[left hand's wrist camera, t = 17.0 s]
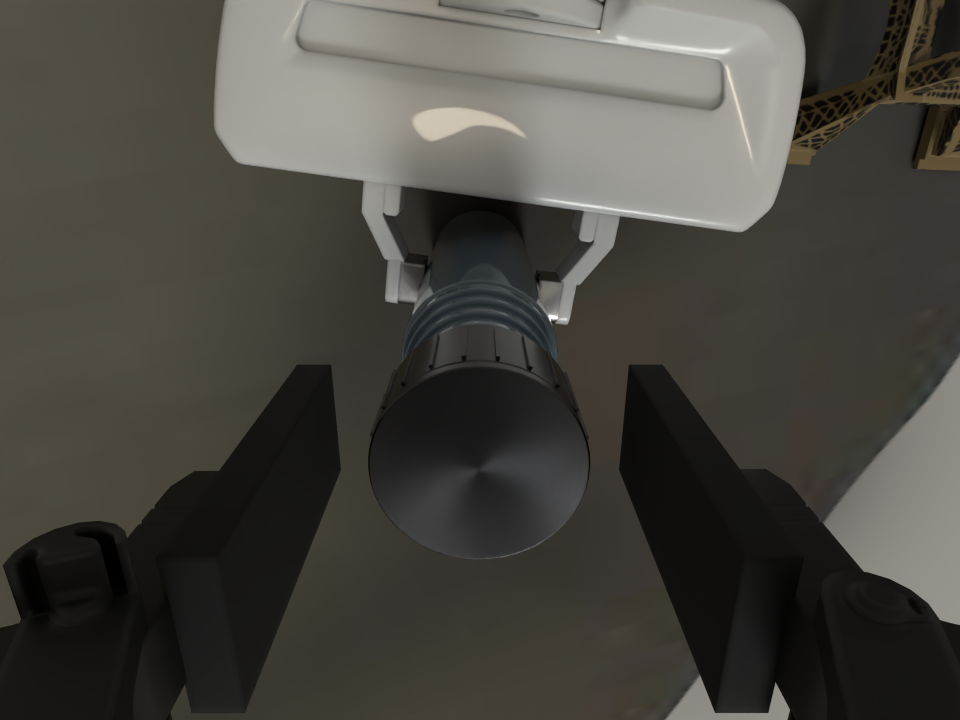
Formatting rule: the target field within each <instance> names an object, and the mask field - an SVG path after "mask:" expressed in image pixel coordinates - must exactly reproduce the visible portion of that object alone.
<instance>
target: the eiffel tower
mask: <svg viewBox="0 0 960 720" xmlns="http://www.w3.org/2000/svg"><path fill="white" fill-rule="evenodd" d="M944 3H945V0H890V12H889V18H888V24H887V28H886V32H885V35H884V38H883V41H882V43H881V46H880V48H879V50H878V53H877V55H876V57H875V59H874V61H873V64H872V66H871V68H870V69H869V71H868V73H867V74H866V76H865V78H864V79H863V80H860V81H857V82H854V83H851V84H848V85H844V86H841V87H838V88H835V89H832V90H829V91H826V92H823V93H819V94H816V95H813V96H810V97H807V98H804V99H801V100H800V104H799V110H798V115H797V120H796V125H795V130H794V134H793V139H792V143H791V147H790V152H789V155H788V159H787V163H786V164H801V165H810V161H811V156H812V155H816V152H817V151H818V150H819V149H821V148H822V147H823V146H825V145H826V144H827V143H829V142H830V141H831V140H832V139H834V138H835V137H836V136H838V135H839V134H840V133H842V132H843V131H844V130H846V129H847V128H848V127H849V126H851V125H852V124H853V123H855V122H856V121H857V120H859V119H860V118H861V117H863V116H864V115H865V114H866V113H868V112H869V111H870V110H872V109H873V108H874V107H876V106H877V105H878V104H911V105H941V106H930V108H929V111H928V115H927V119H926V122H925V126H924V129H923V133H922V137H921V140H920V144H919V147H918V151H917V155H916V158H915V162H914V165H913V169H930V170H956V171H960V50H957V51H953V52H949V53H946V54H943V55H940V56H937V57H934V58H932V59H929V58H930V54H931V51H932V47H933V43H934V39H935V36H936V31H937V27H938V22H939V19H940V16H941V13H942V10H943V6H944Z"/></svg>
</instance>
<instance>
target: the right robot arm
mask: <svg viewBox="0 0 960 720" xmlns="http://www.w3.org/2000/svg"><path fill="white" fill-rule="evenodd" d="M804 73H805V42H804V36H803V32H802V29H801V26H800V24H799V22H798V20H797V18H796V17H795V15H794V14H793V13H792V12H791V10H790V9H789V8H788V7H786V6H785V5H784V4H783V3H781V2H779V0H224V7H223V13H222V20H221V27H220V34H219V43H218V52H217V62H216V76H215V93H214V128H215V131H216V134H217V136H218V137H219V139H220V140H221V142H222V143H223V145H224V146H225V148H226V149H227V150H228V152H229V153H230V155H231V156H232V157H233V158H234V160H235V161H237V162H238V163H241V164H245V165H252V166H259V167H266V168H274V169H281V170H288V171H296V172H303V173H310V174H317V175H325V176H332V177H339V178H347V179H354V180H361V181H364V184H363V200H362V214H363V216H364V218H365V220H366V222H367V224H368V226H369V228H370V230H371V232H372V234H373V236H374V238H375V240H376V242H377V244H378V247H379V249H380V251H381V253H382V255H383V257H384V259H386V260H388V265H387V277H386V290H385V301H387V302H392V303H402V304H411V305H414V304H415V301H416V298H417V296H418V293H419V290H420V287H421V284H422V281H423V279H424V276H425V273H426V270H427V267H428V257H429V256H426V255H419V254H413V253H409V250H408V248H407V245H406V243H405V241H404V238H403V236H402V234H401V232H400V229H399V227H398V225H397V222H396V220H395V218H394V216H396V215H397V214H399V212H400V211H401V210H402V209H403V208H404V207H405V202H406V192H407V187H412V188H419V189H427V190H434V191H441V192H449V193H456V194H463V195H470V196H478V197H485V198H492V199H500V200H507V201H514V202H521V203H529V204H536V205H543V206H551V207H558V208H565V209H572V210H574V216H573V222H572V228H571V229H572V230H573V232H574V233H575V234H576V235H577V237H578V238H579V239H580V241H579V242H578V243H577V245H576V246H575V247H574V248H573V250H572V251H571V252H570V253H569V255H568V256H567V257H566V258H565V260H564V261H563V262H562V263H561V265H560V266H559V267H558V268H557V270H556V271H555V272H548V271H539V270H536V274H535V277H536V280H537V283H538V286H539V288H540V291H541V294H542V297H543V300H544V303H545V306H546V309H547V312H548V315H549V317H550V320H551V323H556V324H564V325H567V324H568V322H569V319H570V315H571V310H572V305H573V300H574V295H575V289H576V285H580V284H581V283H582V282H583V280H584V279H585V278H586V277H587V276H588V275H589V274H590V273H591V271H592V270H593V269H594V268H595V267H596V266H597V265H598V263H599V262H600V261H601V260H602V259H603V258H604V257H605V255H606V254H607V253H608V252H609V251H610V250H611V249H612V248H613V246H614V242H615V237H616V233H617V228H618V224H619V219H620V216H623V217H631V218H638V219H645V220H653V221H660V222H667V223H674V224H682V225H689V226H696V227H704V228H711V229H718V230H726V231H733V232H743V231H745V230H747V229H748V228H749V227H751V226H752V225H753V224H754V223H755V222H757V221H758V220H759V219H760V218H761V217H762V216H763V215H764V214H765V213H767V212H768V211H769V210H770V208H771V207H772V205H773V203H774V201H775V199H776V196H777V194H778V191H779V188H780V185H781V181H782V178H783V174H784V171H785V167H786V163H787V159H788V155H789V152H790V147H791V143H792V139H793V134H794V130H795V125H796V120H797V115H798V110H799V104H800V98H801V93H802V87H803V80H804Z"/></svg>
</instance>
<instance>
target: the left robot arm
mask: <svg viewBox="0 0 960 720" xmlns="http://www.w3.org/2000/svg"><path fill="white" fill-rule="evenodd" d="M340 471H341V466H340V455H339V445H338V434H337V424H336V413H335V402H334V392H333V381H332V370H331V365H297V366H296V367H295V369H294V370H293V371H292V373H291V374H290V375H289V377H288V378H287V379H286V381H285V382H284V384H283V385H282V386H281V388H280V389H279V390H278V392H277V393H276V394H275V396H274V397H273V398H272V400H271V401H270V402H269V404H268V405H267V407H266V408H265V409H264V411H263V412H262V413H261V415H260V416H259V417H258V419H257V420H256V421H255V423H254V424H253V426H252V427H251V428H250V430H249V431H248V432H247V434H246V435H245V436H244V438H243V439H242V440H241V442H240V443H239V444H238V446H237V447H236V449H235V450H234V451H233V453H232V454H231V455H230V457H229V458H228V459H227V461H226V462H225V463H224V465H223V466H222V468H221V469H220V470H219V471H194V472H193V473H191V474H189V475H188V476H186V477H185V478H183V479H182V480H180V481H178V482H177V483H175V484H174V485H172V486H171V487H170V488H169V489H168V490H167V491H166V492H165V494H164V495H163V496H162V497H161V498H160V500H159V501H158V502H157V503H156V504H155V508H154V509H151V510H150V511H149V513H148V514H147V515H146V516H145V517H144V519H143V520H142V524H139V525H138V526H137V527H136V528H135V529H134V531H133V532H132V533H131V534H130V535H129V537H128V538H127V537H126V533H125V531H124V530H123V529H122V528H120V527H119V526H118V525H116V524H113V523H108V522H102V521H93V522H81V523H76V524H72V525H68V526H64V527H61V528H57V529H54V530H52V531H50V532H47V533H45V534H43V535H41V536H38V537H36V538H34V539H32V540H31V541H29V542H28V543H26V544H25V545H23V546H22V547H21V548H19V549H18V550H16V551H15V552H14V553H13V554H12V555H11V556H10V558H9V559H8V560H7V561H6V562H5V563H4V565H3V568H4V571H5V574H6V576H7V579H8V582H9V585H10V588H11V591H12V594H13V597H14V600H15V602H16V605H17V608H18V611H19V614H20V617H21V621H20V623H18V624H15V625H11V626H7V627H2V628H0V720H172V716H171V710H172V708H173V706H174V704H175V702H176V700H177V698H178V696H179V694H180V692H181V691H182V689H183V687H184V685H185V686H186V690H187V695H188V699H189V703H190V707H191V712H192V713H245V711H246V709H247V706H248V704H249V701H250V698H251V696H252V693H253V691H254V688H255V686H256V683H257V681H258V678H259V676H260V673H261V671H262V668H263V666H264V663H265V661H266V658H267V655H268V653H269V650H270V648H271V645H272V643H273V640H274V638H275V635H276V633H277V630H278V628H279V625H280V623H281V620H282V617H283V615H284V612H285V610H286V607H287V605H288V602H289V600H290V597H291V595H292V592H293V590H294V587H295V585H296V582H297V579H298V577H299V574H300V572H301V569H302V567H303V564H304V562H305V559H306V557H307V554H308V552H309V549H310V547H311V544H312V541H313V539H314V536H315V534H316V531H317V529H318V526H319V524H320V521H321V519H322V516H323V514H324V511H325V509H326V506H327V504H328V501H329V498H330V496H331V493H332V491H333V488H334V486H335V483H336V481H337V478H338V476H339V473H340ZM619 471H620V473H621V476H622V478H623V481H624V483H625V486H626V488H627V491H628V493H629V496H630V498H631V501H632V504H633V506H634V509H635V511H636V514H637V516H638V519H639V521H640V524H641V526H642V529H643V531H644V534H645V536H646V539H647V541H648V544H649V547H650V549H651V552H652V554H653V557H654V559H655V562H656V564H657V567H658V569H659V572H660V574H661V577H662V579H663V582H664V585H665V587H666V590H667V592H668V595H669V597H670V600H671V602H672V605H673V607H674V610H675V612H676V615H677V617H678V620H679V623H680V625H681V628H682V630H683V633H684V635H685V638H686V640H687V643H688V645H689V648H690V650H691V653H692V655H693V658H694V661H695V663H696V666H697V668H698V671H699V673H700V676H701V678H702V681H703V683H704V686H705V688H706V691H707V693H708V696H709V698H710V701H711V704H712V706H713V709H714V711H715V713H768V712H769V707H770V703H771V699H772V695H773V690H774V686H775V682H776V684H777V685H778V687H779V689H780V691H781V693H782V695H783V697H784V699H785V701H786V703H787V704H788V706H789V708H790V712H789V717H788V720H960V625H956V624H952V623H948V622H945V621H941V620H939V618H938V617H937V615H936V614H935V612H934V611H933V610H932V608H931V607H930V605H929V604H928V603H927V602H926V601H924V600H923V599H922V598H920V597H919V596H918V595H917V594H915V593H914V592H913V591H912V590H910V589H908V588H906V587H904V586H902V585H900V584H898V583H896V582H894V581H892V580H890V579H888V578H885V577H881V576H878V575H875V574H871V573H868V572H863V570H862V569H861V568H860V567H859V566H858V564H857V563H856V562H855V561H854V560H853V559H852V557H851V556H850V555H849V554H848V553H847V551H846V550H845V549H844V548H843V547H842V546H841V544H840V543H839V542H838V541H837V540H836V538H835V537H834V536H833V535H832V534H831V532H830V531H829V530H828V529H827V528H826V527H825V525H824V524H823V523H822V522H819V520H818V519H819V518H818V517H817V516H816V515H815V514H814V512H813V511H812V510H811V509H810V508H809V507H806V503H805V502H804V500H803V499H802V498H801V497H800V496H799V495H798V493H797V492H796V491H795V490H794V489H793V487H792V486H791V485H790V484H788V483H787V482H785V481H784V480H782V479H780V478H779V477H777V476H776V475H774V474H773V473H771V472H769V471H768V470H766V469H739V468H738V466H737V465H736V463H735V462H734V461H733V459H732V458H731V457H730V455H729V454H728V453H727V451H726V450H725V449H724V447H723V446H722V444H721V443H720V442H719V440H718V439H717V438H716V436H715V435H714V434H713V432H712V431H711V430H710V428H709V427H708V426H707V424H706V423H705V421H704V420H703V419H702V417H701V416H700V415H699V413H698V412H697V411H696V409H695V408H694V407H693V405H692V404H691V402H690V401H689V400H688V398H687V397H686V396H685V394H684V393H683V392H682V390H681V389H680V388H679V386H678V385H677V384H676V382H675V381H674V379H673V378H672V377H671V375H670V374H669V373H668V371H667V370H666V369H665V367H664V366H663V365H629V370H628V381H627V392H626V402H625V413H624V424H623V434H622V445H621V455H620V466H619Z"/></svg>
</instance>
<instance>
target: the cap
mask: <svg viewBox="0 0 960 720" xmlns="http://www.w3.org/2000/svg"><path fill="white" fill-rule="evenodd" d="M370 436H371V437H372V440H371V443H370V448H369V456H368V469H369V476H370V482H371V486H372V489H373V492H374V495H375V497H376V499H377V501H378V503H379V505H380V507H381V508H382V510H383V511H384V513H385V514H386V516H387V517H388V518H389V519H390V521H391V522H392V523H393V524H394V525H395V526H396V527H397V528H398V529H399V530H400V531H401V532H403V533H404V534H405V535H406V536H408V537H409V538H411V539H412V540H414V541H415V542H417V543H418V544H420V545H422V546H424V547H426V548H428V549H430V550H433V551H436V552H438V553H441V554H445V555H448V556H452V557H458V558H465V559H495V558H501V557H506V556H510V555H514V554H517V553H521V552H523V551H525V550H528V549H530V548H533V547H535V546H536V545H538V544H540V543H542V542H544V541H545V540H547V539H548V538H549V537H551V536H552V535H553V534H555V533H556V532H557V531H558V530H559V529H560V528H561V527H562V526H564V525H565V523H566V522H567V521H568V520H569V519H570V517H571V516H572V515H573V514H574V512H575V510H576V509H577V507H578V506H579V504H580V502H581V500H582V497H583V495H584V493H585V490H586V487H587V483H588V479H589V472H590V453H589V447H588V441H587V439H589V437H588V434H587V431H586V428H585V425H584V422H583V419H582V416H581V413H580V410H579V407H578V404H577V401H576V398H575V396H574V393H573V390H572V387H571V384H570V381H569V378H568V375H567V373H566V372H565V373H563V371H562V369H561V368H560V367H559V365H558V364H557V362H556V361H555V360H554V359H553V358H552V356H551V353H550V352H549V351H546V350H544V349H543V348H542V347H541V346H539V345H538V344H537V343H535V342H533V341H532V340H530V339H529V338H527V336H526V335H524V334H523V335H520V334H518V333H516V332H513V331H509V330H506V329H503V328H498V326H494V327H491V326H469V327H468V326H467V325H466V326H464V327H461V328H457V329H452V330H449V331H446V332H443V333H440V334H438V333H437V334H435V335H434V337H432V338H430V339H428V340H427V341H425V342H424V343H422V344H421V345H419V346H418V347H417V348H415V349H411V350H410V353H409V355H408V356H407V357H406V358H405V359H404V361H403V362H402V363H401V364H400V366H399V368H398V369H397V371H396V370H394V371H393V373H392V376H391V379H390V382H389V385H388V387H387V390H386V393H385V395H384V396H383V399H382V402H381V405H380V408H379V411H378V413H377V416H376V419H375V422H374V425H373V428H372V431H371V434H370Z"/></svg>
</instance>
